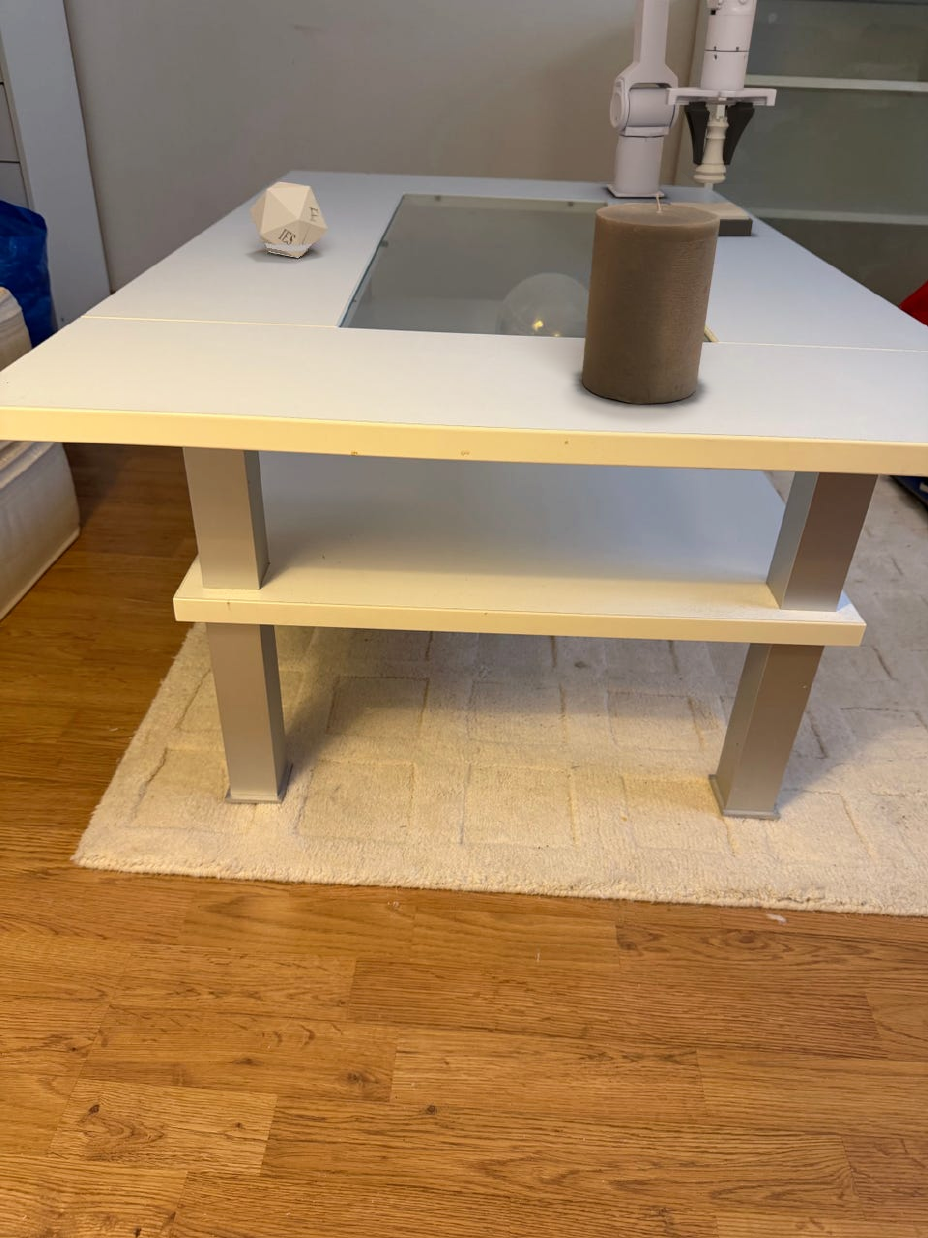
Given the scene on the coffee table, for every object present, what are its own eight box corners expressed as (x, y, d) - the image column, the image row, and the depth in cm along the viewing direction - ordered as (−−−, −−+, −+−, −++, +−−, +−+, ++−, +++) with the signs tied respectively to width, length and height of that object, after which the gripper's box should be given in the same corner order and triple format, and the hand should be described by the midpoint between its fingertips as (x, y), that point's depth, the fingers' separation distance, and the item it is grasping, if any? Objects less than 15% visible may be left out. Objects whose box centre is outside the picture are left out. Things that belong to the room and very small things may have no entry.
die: (261, 270, 115) (305, 201, 110) (224, 221, 118) (265, 151, 113) (309, 282, 122) (352, 218, 117) (273, 236, 125) (314, 171, 120)
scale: (663, 220, 140) (665, 201, 138) (730, 220, 140) (733, 201, 138) (679, 235, 131) (681, 215, 129) (750, 235, 131) (754, 215, 130)
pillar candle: (619, 411, 76) (640, 210, 68) (561, 373, 83) (574, 188, 75) (720, 395, 79) (751, 201, 71) (655, 360, 87) (677, 181, 78)
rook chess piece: (728, 183, 132) (738, 118, 127) (696, 183, 132) (704, 118, 127) (721, 178, 135) (730, 115, 131) (690, 177, 136) (698, 114, 131)
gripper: (679, 51, 121) (665, 167, 129) (791, 52, 122) (771, 168, 129) (667, 48, 127) (655, 160, 135) (774, 49, 128) (755, 160, 135)
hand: (711, 163), depth 132 cm, fingers closed on rook chess piece, 3 cm apart
